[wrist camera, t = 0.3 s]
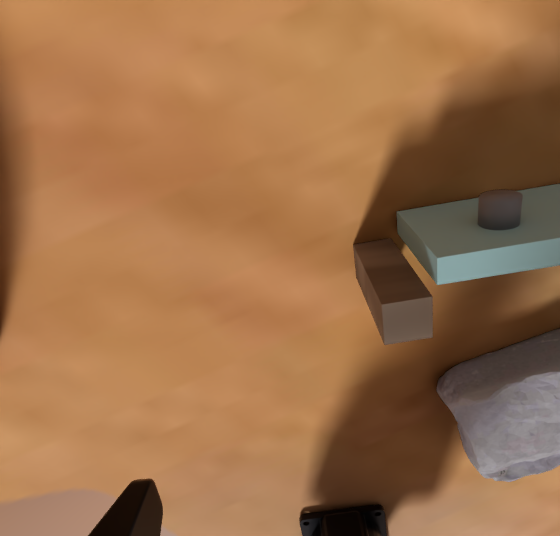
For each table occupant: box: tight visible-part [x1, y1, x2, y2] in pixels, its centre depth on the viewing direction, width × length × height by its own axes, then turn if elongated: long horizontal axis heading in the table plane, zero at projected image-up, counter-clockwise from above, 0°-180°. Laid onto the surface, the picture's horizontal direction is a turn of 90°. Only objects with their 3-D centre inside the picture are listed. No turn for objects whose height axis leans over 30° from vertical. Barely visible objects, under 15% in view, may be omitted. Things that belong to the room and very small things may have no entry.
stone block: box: [436, 328, 560, 482], centre depth 25 cm, size 12×5×10 cm
